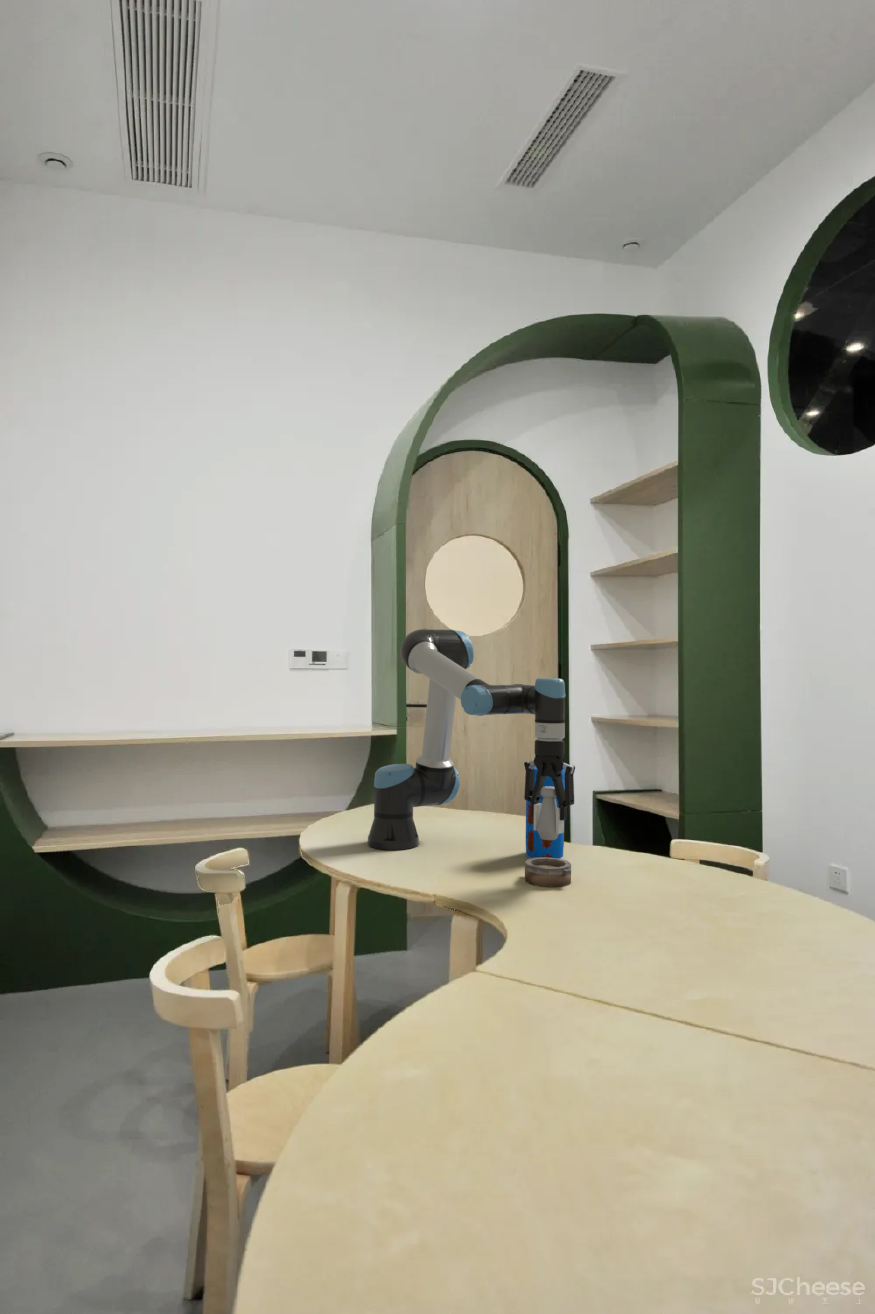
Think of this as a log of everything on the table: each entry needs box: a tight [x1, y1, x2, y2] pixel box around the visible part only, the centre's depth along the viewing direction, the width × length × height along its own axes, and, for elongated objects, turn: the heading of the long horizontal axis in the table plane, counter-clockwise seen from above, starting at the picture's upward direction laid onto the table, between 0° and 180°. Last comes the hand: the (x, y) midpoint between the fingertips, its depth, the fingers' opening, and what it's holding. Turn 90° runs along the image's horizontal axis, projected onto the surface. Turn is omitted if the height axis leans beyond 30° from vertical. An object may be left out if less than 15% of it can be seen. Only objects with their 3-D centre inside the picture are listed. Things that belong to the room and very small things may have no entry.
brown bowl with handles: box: [524, 857, 572, 888], centre depth 208 cm, size 14×12×4 cm
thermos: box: [525, 766, 565, 859], centre depth 234 cm, size 11×11×25 cm
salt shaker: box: [537, 786, 558, 840], centre depth 207 cm, size 6×6×13 cm
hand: (548, 831), depth 207 cm, fingers closed on salt shaker, 6 cm apart
